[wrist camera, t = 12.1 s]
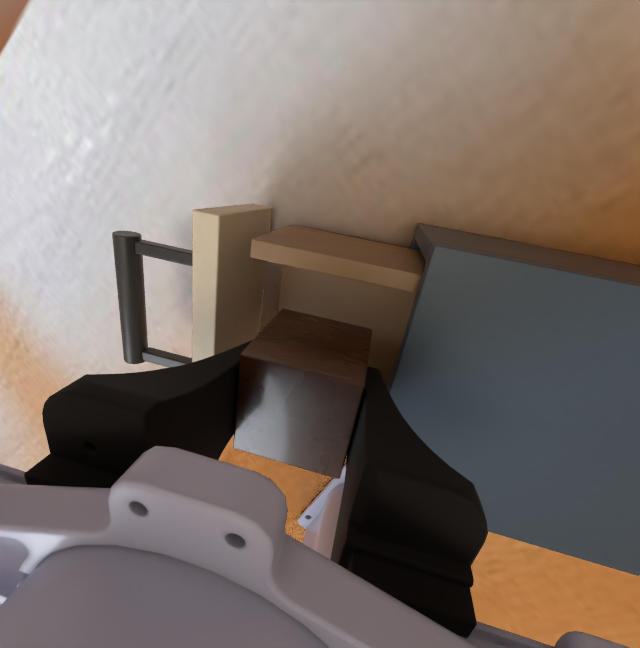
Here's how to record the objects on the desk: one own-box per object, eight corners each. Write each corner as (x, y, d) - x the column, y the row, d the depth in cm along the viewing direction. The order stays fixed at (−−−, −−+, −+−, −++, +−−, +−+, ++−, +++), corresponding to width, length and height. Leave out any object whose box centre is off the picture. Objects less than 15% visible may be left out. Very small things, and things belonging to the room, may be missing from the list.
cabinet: (368, 397, 23) (358, 493, 16) (417, 222, 18) (434, 244, 11) (555, 445, 22) (639, 576, 14) (663, 269, 17) (874, 331, 9)
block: (353, 404, 15) (339, 480, 11) (272, 383, 16) (232, 448, 12) (373, 328, 14) (365, 385, 10) (282, 307, 14) (239, 353, 10)
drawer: (178, 347, 24) (111, 397, 18) (176, 188, 19) (86, 187, 14) (401, 405, 22) (404, 482, 16) (455, 243, 17) (486, 269, 12)
